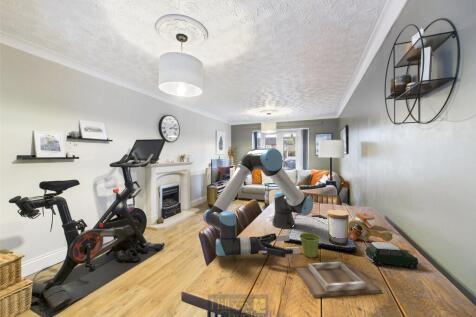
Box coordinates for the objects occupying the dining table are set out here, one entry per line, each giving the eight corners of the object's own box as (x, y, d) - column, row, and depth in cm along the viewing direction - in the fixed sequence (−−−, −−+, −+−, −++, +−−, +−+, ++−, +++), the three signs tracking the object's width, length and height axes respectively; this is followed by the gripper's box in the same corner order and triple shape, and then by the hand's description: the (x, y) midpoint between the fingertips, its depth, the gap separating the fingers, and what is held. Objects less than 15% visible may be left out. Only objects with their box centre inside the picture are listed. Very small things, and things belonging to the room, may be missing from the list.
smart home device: (320, 214, 154) (338, 222, 134) (320, 216, 154) (338, 225, 134) (310, 215, 152) (327, 223, 133) (310, 217, 152) (327, 226, 133)
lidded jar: (375, 231, 121) (375, 216, 121) (355, 228, 127) (354, 213, 127) (374, 226, 130) (374, 212, 130) (355, 223, 136) (355, 210, 136)
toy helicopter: (351, 234, 117) (350, 211, 117) (394, 246, 101) (394, 219, 101) (345, 238, 112) (344, 214, 112) (390, 251, 95) (389, 223, 95)
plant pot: (298, 257, 91) (298, 239, 91) (300, 248, 100) (300, 231, 100) (320, 261, 87) (320, 242, 87) (320, 251, 96) (320, 234, 96)
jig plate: (313, 297, 65) (313, 288, 65) (295, 270, 81) (295, 262, 81) (381, 292, 67) (381, 283, 67) (350, 266, 83) (350, 259, 83)
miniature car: (421, 270, 80) (421, 251, 80) (371, 266, 83) (371, 247, 83) (407, 259, 88) (406, 241, 88) (362, 256, 92) (362, 239, 92)
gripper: (246, 242, 103) (285, 240, 105) (253, 268, 79) (304, 265, 80) (246, 227, 103) (285, 226, 105) (253, 250, 79) (304, 247, 80)
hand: (293, 243), depth 93 cm, fingers open, 13 cm apart
